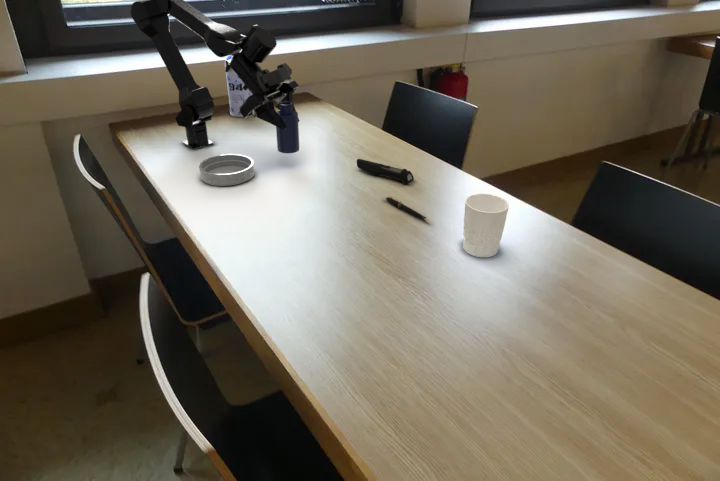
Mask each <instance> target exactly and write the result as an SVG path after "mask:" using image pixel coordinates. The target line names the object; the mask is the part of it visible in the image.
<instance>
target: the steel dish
mask: <svg viewBox="0 0 720 481" xmlns="http://www.w3.org/2000/svg"><path fill="white" fill-rule="evenodd" d="M198 171H199V176H200V179H201V181H202V182H204V183H205V184H208V185H212V186H217V187H219V186H220V187H230V186H236V185H240V184H243V183H245V182H248V181H249V180H251V179H252V178H253V177H254V176H255V173H256V172H255V161H254V160H253V158H251V157H250V156H247V155H243V154H237V153H226V154H225V153H224V154H218V155H213V156H210V157H208V158H204V159H203V160H202V161H201V162H199V165H198Z"/></svg>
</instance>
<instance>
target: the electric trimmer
mask: <svg viewBox="0 0 720 481" xmlns="http://www.w3.org/2000/svg"><path fill="white" fill-rule="evenodd" d="M356 167H357V168H358V169H359V170H362V171H365V172H367V173H370V174H372V175H374V176H383V177H387V178H390V179H395V180H397V181H401V182H402V183H403V184H404V185H407V184H408V185H410V184H412V183H413V182H414V179H415V177H414V174H413V173H412V172H411V171H410V170H408V169H407V168H399V167H394V166H391V165H386V164H383V163H379V162H375V161H370V160H367V159H362V158H357V159H356Z"/></svg>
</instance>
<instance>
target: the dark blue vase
mask: <svg viewBox="0 0 720 481" xmlns="http://www.w3.org/2000/svg"><path fill="white" fill-rule="evenodd" d="M276 112H277V113H278V115H279V116H280V118H281V119H282V121H283V122H284V124H285V125H286V129H285V130H282V129H280V128H278V127H276V126H275V129H276V130H275V132H276V134H275V135H276V148H277V151H278V152H279V153H281V154H295V153H297V152H299V151H300V132H299V131H300V129H299V122H298V118H299V113H298V111H297V110H296V111H293V105H292V102H281V103H280V110H278V111H276Z"/></svg>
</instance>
